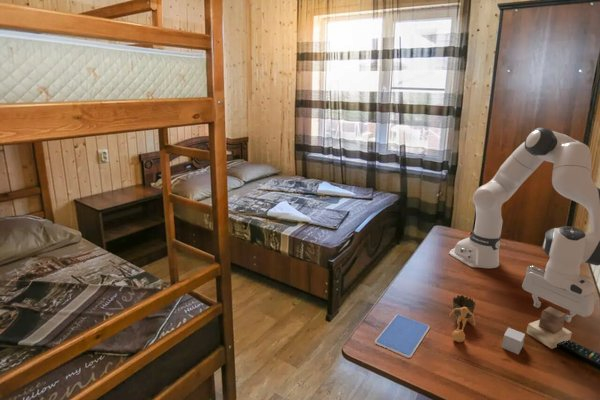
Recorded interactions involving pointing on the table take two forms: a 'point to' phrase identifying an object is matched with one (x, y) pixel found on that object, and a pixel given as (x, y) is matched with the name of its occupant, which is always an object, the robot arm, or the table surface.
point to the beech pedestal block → (548, 334)
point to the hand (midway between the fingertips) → (551, 313)
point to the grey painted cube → (513, 340)
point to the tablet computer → (402, 335)
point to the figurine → (459, 334)
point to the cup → (463, 305)
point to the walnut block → (552, 320)
